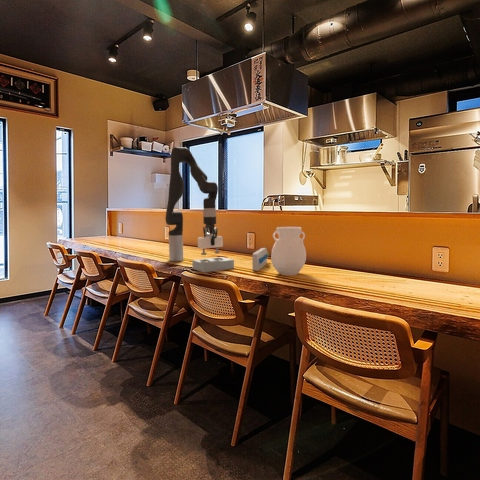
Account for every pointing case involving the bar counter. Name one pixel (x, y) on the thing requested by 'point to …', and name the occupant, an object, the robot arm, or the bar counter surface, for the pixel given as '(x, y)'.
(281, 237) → the white vase
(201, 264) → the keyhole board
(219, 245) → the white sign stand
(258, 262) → the decorative sign
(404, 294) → the bar counter surface
